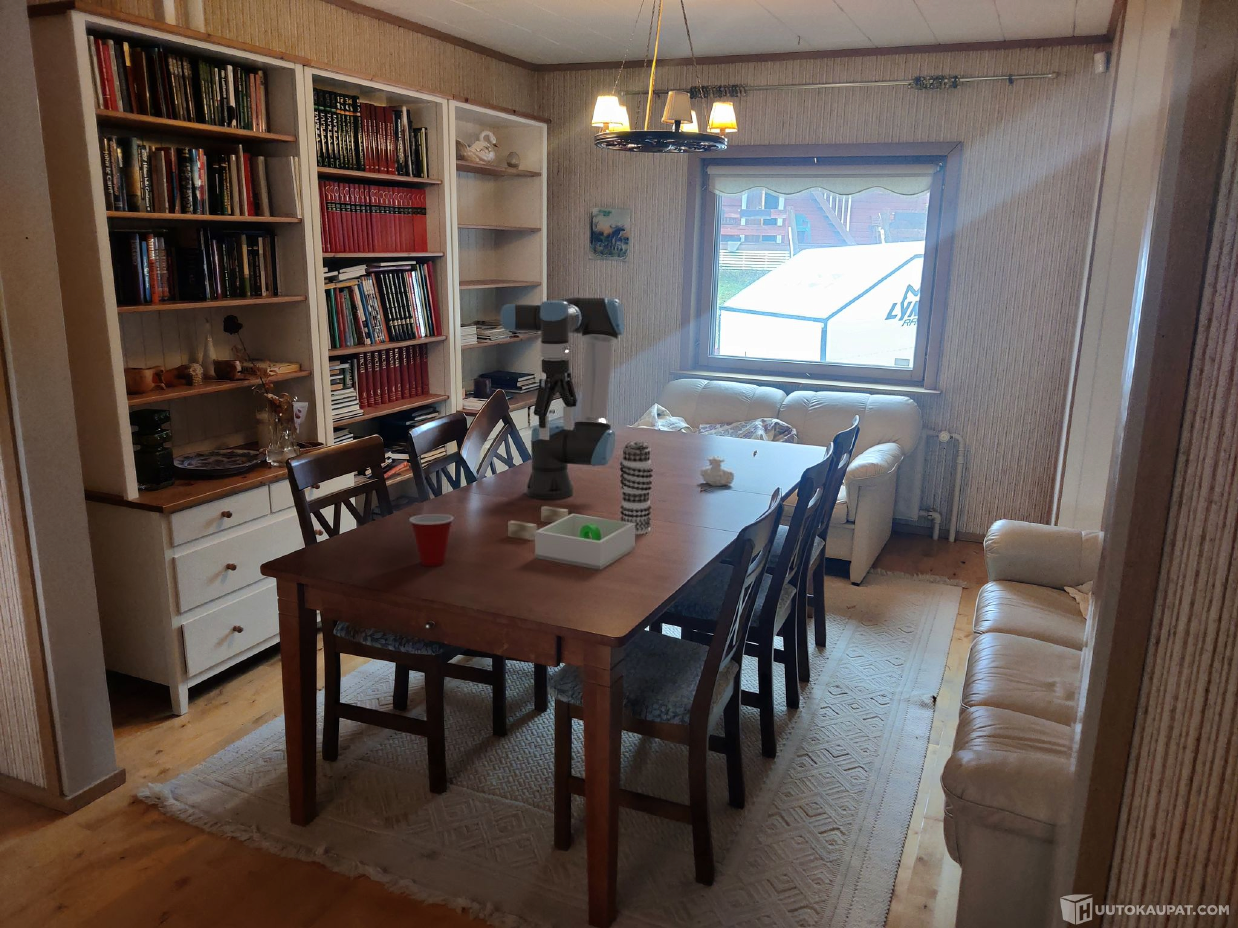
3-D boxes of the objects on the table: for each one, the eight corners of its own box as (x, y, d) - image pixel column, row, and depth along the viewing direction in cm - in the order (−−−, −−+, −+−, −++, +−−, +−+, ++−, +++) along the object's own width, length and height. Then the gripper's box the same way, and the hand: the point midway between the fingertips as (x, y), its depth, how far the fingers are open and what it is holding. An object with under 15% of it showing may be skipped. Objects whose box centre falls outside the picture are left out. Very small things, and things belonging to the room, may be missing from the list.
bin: (535, 557, 231) (535, 531, 229) (572, 538, 247) (572, 513, 246) (600, 569, 222) (600, 542, 221) (634, 548, 239) (635, 523, 237)
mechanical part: (611, 552, 233) (611, 522, 231) (595, 557, 228) (595, 527, 226) (578, 542, 240) (578, 513, 239) (562, 547, 236) (562, 518, 234)
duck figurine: (699, 489, 310) (693, 468, 302) (704, 472, 314) (699, 451, 306) (732, 493, 305) (727, 472, 297) (738, 476, 310) (733, 454, 302)
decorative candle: (614, 526, 258) (615, 441, 253) (644, 523, 261) (645, 439, 256) (625, 535, 250) (626, 447, 244) (656, 532, 253) (658, 445, 248)
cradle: (508, 536, 249) (508, 522, 248) (544, 519, 265) (544, 506, 264) (532, 540, 245) (532, 526, 244) (568, 522, 262) (568, 509, 261)
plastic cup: (457, 555, 232) (456, 510, 229) (451, 569, 222) (450, 522, 219) (415, 555, 232) (413, 510, 229) (407, 569, 221) (405, 522, 219)
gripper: (544, 365, 233) (545, 445, 239) (588, 353, 255) (589, 426, 261) (519, 363, 237) (521, 442, 242) (565, 351, 258) (566, 424, 264)
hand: (556, 434), depth 251 cm, fingers open, 13 cm apart
